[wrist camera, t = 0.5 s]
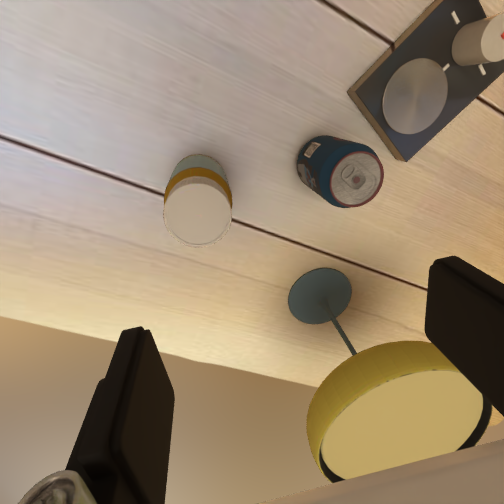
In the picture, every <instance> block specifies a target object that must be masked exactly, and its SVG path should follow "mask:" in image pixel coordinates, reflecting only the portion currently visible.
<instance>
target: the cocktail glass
mask: <svg viewBox="0 0 504 504" xmlns="http://www.w3.org/2000/svg"><path fill="white" fill-rule="evenodd" d="M350 298H351V285H350V282H349V280H348V279H347V277H346V276H345V275H344V274H342V273H341V272H339V271H337V270H334V269H330V268H321V269H316V270H313V271H310V272H308V273H306V274H304V275H303V276H302V277H300V278H299V279H298V280H297V281H296V282H295V284H294V285H293V287H292V288H291V290H290V293H289V298H288V304H289V308H290V311H291V313H292V314H293V315H294V316H295V317H296V318H297V319H298V320H300V321H302V322H304V323H308V324H321V323H325V322H328V321H330V320H331V321H332V322H333V324H334V325H335V327H336V329H337V330H338V332H339V333H340V335H341V337H342V338H343V340H344V342H345V343H346V345H347V346H348V348H349V350H350V352H351V353H352V355H353V356H352V357H350V358H349V359H347V360H346V361H344V362H343V363H341V364H340V365H339V366H338V367H337V368H335V369H334V370H333V371H332V372H331V373H330V374H329V375H328V376H327V378H326V379H325V380H324V381H323V382H322V384H321V385H320V387H319V388H318V390H317V391H316V393H315V395H314V397H313V399H312V401H311V403H310V406H309V410H308V414H307V436H308V440H309V445H310V448H311V452H312V454H313V457H314V459H315V462H316V463H317V465H318V467H319V469H320V471H321V473H322V474H323V475H324V476H325V477H326V478H327V479H328V480H329V481H330V482H331V483H336V482H340V481H343V480H347V479H351V478H355V477H359V476H363V475H366V474H370V473H374V472H378V471H382V470H385V469H389V468H393V467H397V466H401V465H405V464H408V463H412V462H416V461H420V460H424V459H428V458H431V457H435V456H439V455H443V454H447V453H451V452H455V451H458V450H462V449H466V448H470V447H474V446H475V445H476V444H477V443H478V442H479V440H480V439H481V437H482V436H483V434H484V433H485V430H486V429H487V427H488V425H489V422H490V419H491V415H492V406H493V405H492V404H491V403H490V402H489V401H488V400H487V399H486V398H485V397H484V396H483V395H482V394H481V393H480V392H479V391H478V390H477V389H476V388H475V386H474V385H473V384H472V383H471V382H470V381H469V380H468V379H467V378H466V377H465V376H464V375H463V374H462V373H461V372H460V371H459V370H458V369H457V368H456V367H455V366H454V365H453V364H452V363H451V362H450V361H449V360H448V359H447V358H446V357H445V356H444V355H443V353H442V352H441V351H440V350H439V349H438V348H437V347H436V346H435V345H434V344H433V343H428V342H423V341H398V342H390V343H385V344H381V345H377V346H374V347H371V348H369V349H366V350H363V351H361V352H359V353H357V352H356V351H355V349H354V348H353V346H352V344H351V343H350V341H349V340H348V338H347V336H346V335H345V333H344V331H343V330H342V328H341V326H340V325H339V323H338V321H337V320H336V317H337V316H338V315H340V314H341V313H342V312H343V311H344V310H345V308H346V307H347V305H348V303H349V301H350Z"/></svg>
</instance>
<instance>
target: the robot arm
mask: <svg viewBox="0 0 504 504" xmlns="http://www.w3.org/2000/svg"><path fill="white" fill-rule="evenodd" d="M425 333H426V336H427V338H428V339H429V340H430V341H431V342H432V343H433V344H434V345H435V346H436V347H437V348H438V349H439V350H440V351H441V352H442V353H443V355H444V356H445V357H446V358H447V359H448V360H449V361H450V362H451V363H452V364H453V365H454V366H455V367H456V368H457V369H458V370H459V371H460V372H461V373H462V374H463V375H464V376H465V377H466V378H467V379H468V380H469V381H470V382H471V383H472V384H473V385H474V386H475V388H476V389H477V390H478V391H479V392H480V393H481V394H482V395H483V396H484V397H485V398H486V399H487V400H488V401H489V402H490V403H491V404H492V405H493V406H494V407H495V408H496V409H497V410H498V411H499V412H500V413H501V414H502V415H503V416H504V284H503V283H501V282H499V281H498V280H496V279H494V278H493V277H491V276H489V275H487V274H486V273H484V272H482V271H481V270H479V269H477V268H476V267H474V266H472V265H471V264H469V263H467V262H465V261H464V260H462V259H460V258H459V257H457V256H449V257H445V258H441V259H437V260H435V261H434V263H433V265H431V266H430V269H429V279H428V291H427V304H426V316H425ZM174 401H175V398H174V390H173V387H172V385H171V382H170V380H169V377H168V374H167V372H166V369H165V367H164V364H163V362H162V359H161V357H160V354H159V352H158V349H157V346H156V344H155V341H154V339H153V336H152V334H151V332H150V330H144V328H143V327H141V326H140V327H136V328H131V329H127V330H123V331H122V333H121V335H120V338H119V341H118V343H117V346H116V349H115V352H114V354H113V357H112V360H111V363H110V366H109V368H108V371H107V374H106V377H105V378H104V379H102V380H100V381H99V383H98V385H97V387H96V390H95V393H94V395H93V398H92V400H91V403H90V406H89V408H88V411H87V414H86V416H85V419H84V421H83V424H82V427H81V429H80V432H79V435H78V437H77V440H76V442H75V445H74V448H73V450H72V453H71V456H70V458H69V461H68V464H67V466H66V469H65V470H63V471H58V472H56V473H53V474H51V475H49V476H47V477H45V478H44V479H42V480H41V481H40V482H38V483H37V484H35V485H34V486H33V487H32V488H31V489H30V490H29V491H28V492H27V493H26V494H25V495H24V497H23V498H22V499H21V500H20V502H19V503H18V504H165V494H166V483H167V473H168V463H169V453H170V441H171V432H172V421H173V411H174ZM257 504H504V439H502V440H498V441H494V442H490V443H486V444H482V445H478V446H474V447H470V448H466V449H462V450H458V451H455V452H451V453H447V454H443V455H439V456H435V457H431V458H428V459H424V460H420V461H416V462H412V463H408V464H405V465H401V466H397V467H393V468H389V469H385V470H382V471H378V472H374V473H370V474H366V475H363V476H359V477H355V478H351V479H347V480H343V481H340V482H336V483H332V484H328V485H325V486H321V487H317V488H314V489H310V490H306V491H302V492H299V493H295V494H291V495H287V496H283V497H280V498H276V499H272V500H268V501H265V502H261V503H257Z"/></svg>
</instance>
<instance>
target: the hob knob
mask: <svg viewBox="0 0 504 504" xmlns="http://www.w3.org/2000/svg"><path fill="white" fill-rule="evenodd" d="M452 57H453V59H454V61H455V62H456V63H457V64H458V65H460V66H470V65H477V64H484V63H491V62H497V61H500V60H503V59H504V13H500V14H497V15H494V16H490V17H487V18H484V19H481V20H477V21H474V22H471V23H468V24H466V25H464V26H463V27H462V28H461V29H460V30H459V31H458V33H457V34H456V36H455V38H454V40H453V43H452Z"/></svg>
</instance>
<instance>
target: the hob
mask: <svg viewBox="0 0 504 504" xmlns="http://www.w3.org/2000/svg"><path fill="white" fill-rule="evenodd" d="M499 14H500V13H499ZM484 18H487V17H486V15H485V12H484V10H483V8H482V6H481V4H480V2H479V0H435V1H434V2H433V3H432V4H431V5H430V6H429V7H428V8H427V9H426V10H425V11H424V12H423V13H422V15H421V16H420V17H419V18H418V19H417V20H416V21H415V22H414V23H413V24H412V25H411V26H410V27H409V28H408V29H407V30H406V31H405V32H404V33H403V34H402V35H401V36H400V37H399V38H398V39H397V40H396V41H395V43H394V44H393V45H392V46H391V47H390V48H389V49H388V50H387V51H386V52H385V53H384V54H383V55H382V56H381V57H380V58H379V59H378V60H377V61H376V62H375V63H374V64H373V65H372V66H371V67H370V68H369V69H368V70H367V72H366V73H365V74H364V75H363V76H362V77H361V78H360V79H359V80H358V81H357V82H356V83H355V84H354V85H353V86H352V87H351V88H350V89H349V90H348V91H347V93H348V94H349V96H350V97H351V99H352V100H353V101H354V103H355V104H356V105H357V107H358V108H359V109H360V111H361V112H362V113H363V115H364V116H365V118H366V119H367V120H368V122H369V123H370V124H371V126H372V127H373V128H374V130H375V131H376V132H377V134H378V135H379V136H380V138H381V139H382V141H383V142H384V143H385V145H386V146H387V147H388V149H389V150H390V151H391V153H392V154H393V155H394V157H395V158H396V159H397V160H400V161H404V162H407V161H408V160H409V159H410V158H412V157H413V156H414V155H415V154H416V153H417V152H418V151H419V150H420V149H421V148H422V147H423V146H424V145H426V144H427V143H428V142H429V141H430V140H431V139H432V138H433V137H434V136H435V135H436V134H437V133H438V132H440V131H441V130H442V129H443V128H444V127H445V126H446V125H447V124H448V123H449V122H450V121H451V120H452V119H454V118H455V117H456V116H457V115H458V114H459V113H460V112H461V111H462V110H463V109H464V108H465V107H466V106H468V105H469V104H470V103H471V102H472V101H473V100H474V99H475V98H476V97H477V96H478V95H479V94H480V93H482V92H483V91H484V90H485V89H486V88H487V87H488V86H489V85H490V84H491V83H492V82H493V81H494V80H496V79H497V78H498V77H499V76H500V75H501V74H502V73H503V72H504V59H503V60H500V61H497V62H491V63H484V64H477V65H470V66H460V65H458V64H457V63H456V62H455V61H454V59H453V57H452V43H453V40H454V38H455V36H456V34H457V33H458V31H459V30H460V29H461V28H462V27H463V26H464V25H466V24H468V23H471V22H474V21H477V20H481V19H484ZM418 58H427V59H431V60H433V61H435V62H436V63H438V64H439V65H440V66H441V67H442V69H443V70H444V72H445V74H446V78H447V83H448V93H447V98H446V102H445V105H444V107H443V109H442V111H441V113H440V115H439V116H438V117H437V119H436V120H435V121H434V122H433V123H432V124H431V125H430V126H429V127H427V128H426V129H424V130H422V131H420V132H418V133H415V134H401V133H398V132H396V131H394V130H393V129H391V128H390V127H389V126H388V124H387V123H386V121H385V119H384V116H383V113H382V96H383V92H384V89H385V86H386V84H387V82H388V80H389V79H390V77H391V76H392V74H393V73H394V72H395V71H396V70H397V69H398V68H399V67H400V66H402V65H403V64H404V63H406V62H408V61H411V60H413V59H418Z"/></svg>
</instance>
